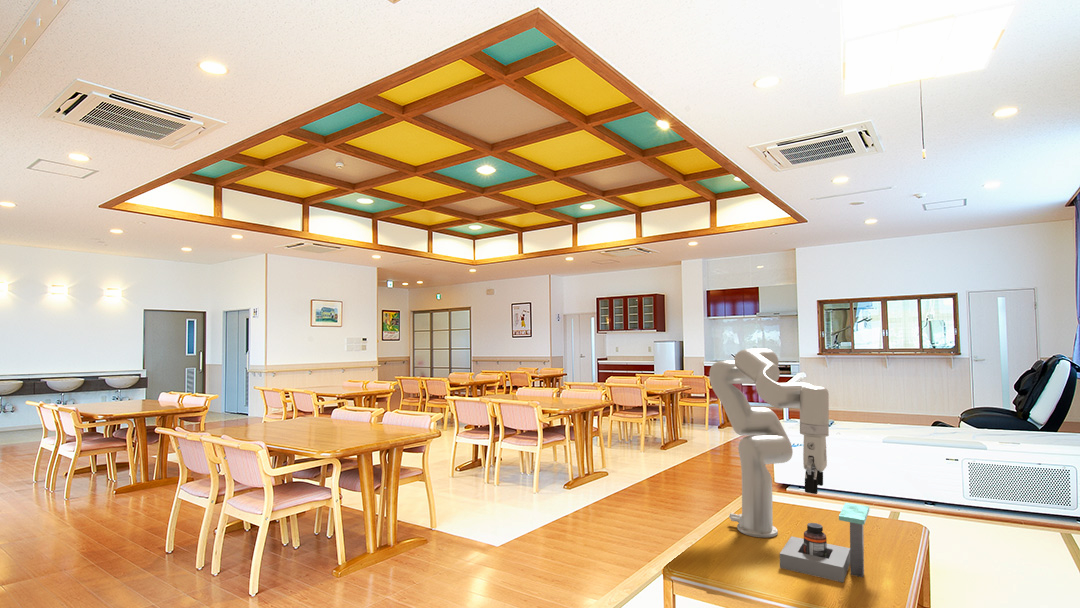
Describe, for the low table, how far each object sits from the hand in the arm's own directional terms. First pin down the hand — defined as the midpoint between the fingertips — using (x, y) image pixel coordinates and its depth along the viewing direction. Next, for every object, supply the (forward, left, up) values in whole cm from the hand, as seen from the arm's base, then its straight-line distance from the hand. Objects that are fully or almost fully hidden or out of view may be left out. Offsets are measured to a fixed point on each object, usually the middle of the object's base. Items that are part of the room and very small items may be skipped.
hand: (814, 488), depth 164 cm
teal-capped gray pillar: (+11, 0, -22) cm, 24 cm away
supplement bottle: (0, 0, -22) cm, 22 cm away
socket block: (0, 0, -22) cm, 22 cm away
